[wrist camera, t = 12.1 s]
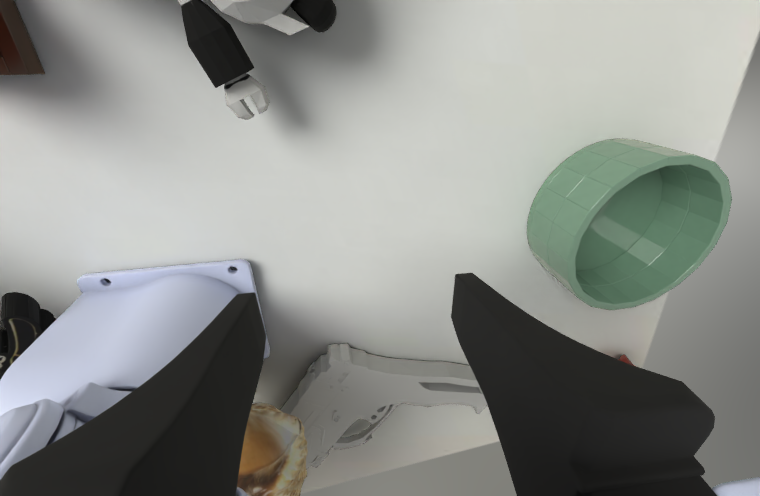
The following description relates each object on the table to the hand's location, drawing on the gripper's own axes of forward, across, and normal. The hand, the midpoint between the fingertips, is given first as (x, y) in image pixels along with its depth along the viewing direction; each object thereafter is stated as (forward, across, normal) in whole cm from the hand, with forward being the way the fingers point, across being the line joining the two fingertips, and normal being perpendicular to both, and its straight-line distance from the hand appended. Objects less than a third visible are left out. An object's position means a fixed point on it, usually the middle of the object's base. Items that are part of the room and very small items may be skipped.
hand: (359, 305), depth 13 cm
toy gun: (+8, -4, +28) cm, 29 cm away
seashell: (+2, +8, +14) cm, 17 cm away
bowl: (+10, -17, +2) cm, 20 cm away
